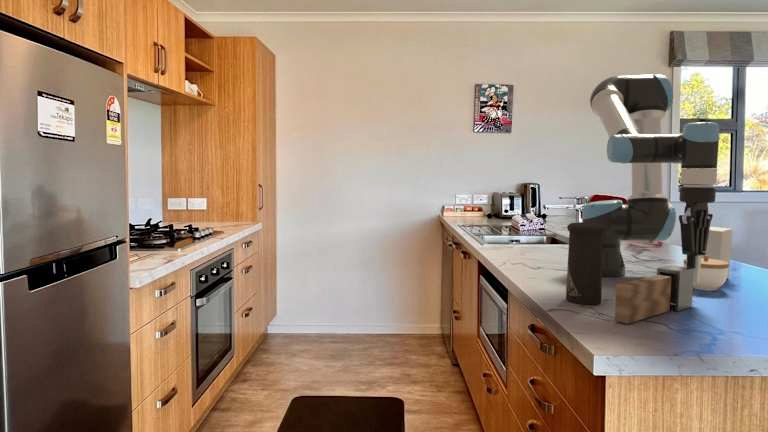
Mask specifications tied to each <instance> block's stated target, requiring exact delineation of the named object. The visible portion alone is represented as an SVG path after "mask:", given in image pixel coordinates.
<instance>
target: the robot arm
mask: <svg viewBox="0 0 768 432" xmlns="http://www.w3.org/2000/svg"><path fill="white" fill-rule="evenodd" d="M673 99H674V89H673V84H672V82H671V80H670V78H668V76H665V75H663V74H654V73H651V74H638V75H637V74H636V75H633V74H632V75H631V74H630V75H614V76H611V77H607V78H606V79H604V80H602V81H601V82H599V83H598V84H597V85H596V87H594V89H593V90H592V93H591V94H590V98H589V103H590V108H591V110H592V112H593V113H594V115H596V116H598V117H599V119H600V121H601V123H602V125H603V127H604V129H605V131H606V133H607V135H608V137H609V138H608V140H607V144H606V154H607V155H606V156H607V160H608V161H609V162H611V163H618V164H631V195H629V197H628V198H627V199H626V204H624V202H623V200H621V199H611V200H609V199H608V200H598V201H592V202H588V203H586V204H584V205H583V208H582V216H581V219H582V220H581V222H590V223H597V224H602V225H604V226H605V227H606V231H605V232H604V233H603V247H602V277H621V276H625V275H626V265H625V261H624V258H623V255H622V251H621V242H622V241H624V242H625V241H626V242H628V241H629V242H630V241H631V242H649V243H653V242H664V241H667V240H668V239H669V238H670V237H671V236H672V234H673V231H674V229H675V227H676V221H677V213H676V208H675V207H674V205H672V204H670V203H669V202H668V201H669V200H668V197H667V196H666V195H664V194H663V173H662V172H663V170H662V164H680V165H681V166H680V168H681V169H680V172H679V173H678V174H679V176H680V185H682V187H681V186H680V188H679V201H680V202H682V203H685V207H684V213H683V214H679V215H678V221H679V223H680V225H679V227H680V240H681V252H682V255H686V258H685V259H686V267H688V268H694V275H693V282H699V281H700V268H701V255H706V253H704V252H705V251H706V247H707V241H708V235H709V229H710V227H711V223H712V219H713V218H714V216H713V213H709V206H708V204H710V203H711V204H712V203H715V201H716V192H717V189H716V188H715V187H714V186H716V185H717V178H718V159H719V143H720V142H719V141H720V139H721V138H720V127H719V126H720V125H719V124H718V123H717V122H711V121H709V122H708V121H706V122H705V121H702V122H701V121H700V122H689V123H686V124H685V125H683V128H682V129H683V130H682V133H678V134H676V133H675V134H674V133H673V134H672V133H671V134H669V133H667V134H665V133H664V134H662V126H661V125H662V124H661V123H662V122H661V120H662V119H663V118H664V117H666V116H667V112H668V111H670V109H671V108H672V106H673Z"/></svg>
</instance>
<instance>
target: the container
mask: <svg viewBox="0 0 768 432" xmlns="http://www.w3.org/2000/svg"><path fill="white" fill-rule="evenodd" d="M566 229H567V231H568V232H569V234H568V253H567V255H568V256H567V269H566V271H567V272H566V290H565V299H566V301H568V302H571V303H574V304H579V305H586V306H587V305H590V306H591V305H599V304H601V303H602V290H603V289H602V287H603V286H602V285H603V283H602V282H603V281H602V280H603V276H602V247H603V233H604V232H605V231H606V227H605V226H604V225H602V224H597V223H590V222H582V221H581V222H571V223H569V224H568V225H567V226H566Z"/></svg>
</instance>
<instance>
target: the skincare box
mask: <svg viewBox="0 0 768 432" xmlns="http://www.w3.org/2000/svg"><path fill="white" fill-rule="evenodd" d="M732 238H733V228H729V227H718V226H710V229H709V235H708V241H707V247H706V251H705V252H704V253H706V255H708V259H716V260H722V261H726V262H728V263H729V267H728V275H727V278H726V280H727V279H730V269H731V252H732ZM701 258H704V255H701Z"/></svg>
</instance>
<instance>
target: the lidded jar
mask: <svg viewBox="0 0 768 432" xmlns="http://www.w3.org/2000/svg"><path fill="white" fill-rule="evenodd" d="M686 259H687V258H684V259H683V267H686ZM728 267H729V263H728V262H726V261H722V260H716V259H708V255H704V258H701V268H700V281H699V282H693V289H695V290H700V291H708V292H710V291H711V292H714V291H717V290H718V289H719V288H720V287H722V286H723V285H724V284H725V282H726V281H727V279H726V278H727V275H728Z"/></svg>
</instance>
